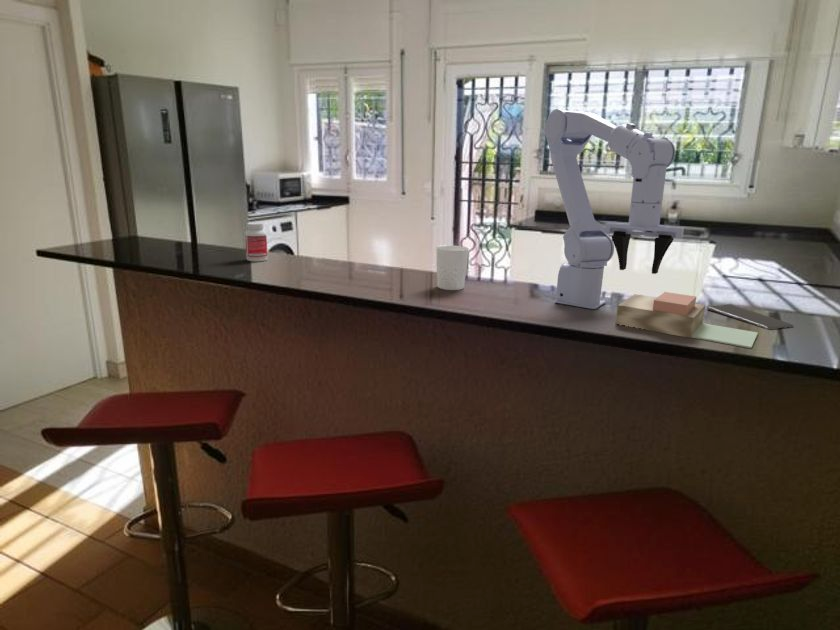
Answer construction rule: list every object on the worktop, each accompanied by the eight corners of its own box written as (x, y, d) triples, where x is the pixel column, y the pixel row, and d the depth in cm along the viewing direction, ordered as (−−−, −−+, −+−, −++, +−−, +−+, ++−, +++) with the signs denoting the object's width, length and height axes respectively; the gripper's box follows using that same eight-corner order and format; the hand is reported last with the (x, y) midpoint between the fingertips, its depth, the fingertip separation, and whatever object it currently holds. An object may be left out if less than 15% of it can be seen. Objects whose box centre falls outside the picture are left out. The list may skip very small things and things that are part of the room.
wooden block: (615, 324, 115) (617, 305, 114) (632, 312, 124) (634, 294, 123) (690, 338, 107) (693, 317, 106) (702, 323, 117) (705, 305, 116)
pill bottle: (271, 260, 172) (269, 223, 169) (253, 262, 168) (250, 225, 165) (261, 257, 176) (259, 221, 173) (242, 259, 172) (240, 222, 169)
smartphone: (769, 327, 114) (705, 306, 128) (768, 332, 114) (704, 310, 128) (795, 324, 116) (730, 303, 131) (794, 329, 117) (729, 308, 131)
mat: (690, 337, 108) (691, 335, 108) (701, 324, 116) (702, 323, 116) (751, 348, 102) (751, 346, 102) (757, 334, 111) (758, 332, 111)
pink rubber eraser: (652, 310, 111) (653, 300, 110) (663, 301, 118) (664, 291, 117) (685, 315, 107) (687, 305, 107) (694, 306, 114) (696, 296, 114)
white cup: (428, 287, 143) (429, 247, 140) (448, 282, 149) (450, 244, 146) (452, 292, 138) (454, 251, 135) (472, 287, 143) (474, 248, 141)
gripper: (602, 201, 112) (596, 269, 116) (681, 205, 104) (672, 278, 108) (613, 200, 118) (607, 265, 121) (689, 203, 110) (680, 273, 113)
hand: (638, 271), depth 115 cm, fingers open, 6 cm apart
